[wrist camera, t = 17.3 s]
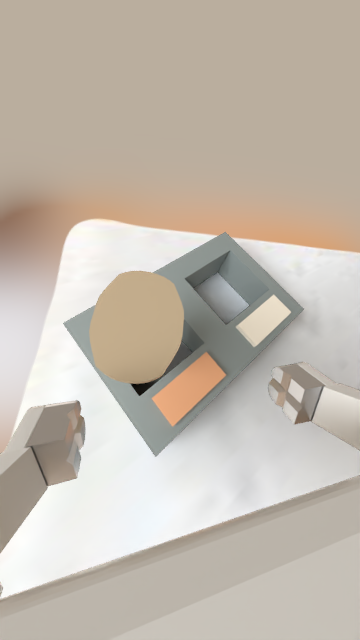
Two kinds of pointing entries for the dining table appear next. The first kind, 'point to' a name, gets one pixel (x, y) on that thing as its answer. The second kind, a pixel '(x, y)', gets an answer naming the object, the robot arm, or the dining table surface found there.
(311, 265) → the dining table surface
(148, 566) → the robot arm
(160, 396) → the socket board
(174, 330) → the handle
